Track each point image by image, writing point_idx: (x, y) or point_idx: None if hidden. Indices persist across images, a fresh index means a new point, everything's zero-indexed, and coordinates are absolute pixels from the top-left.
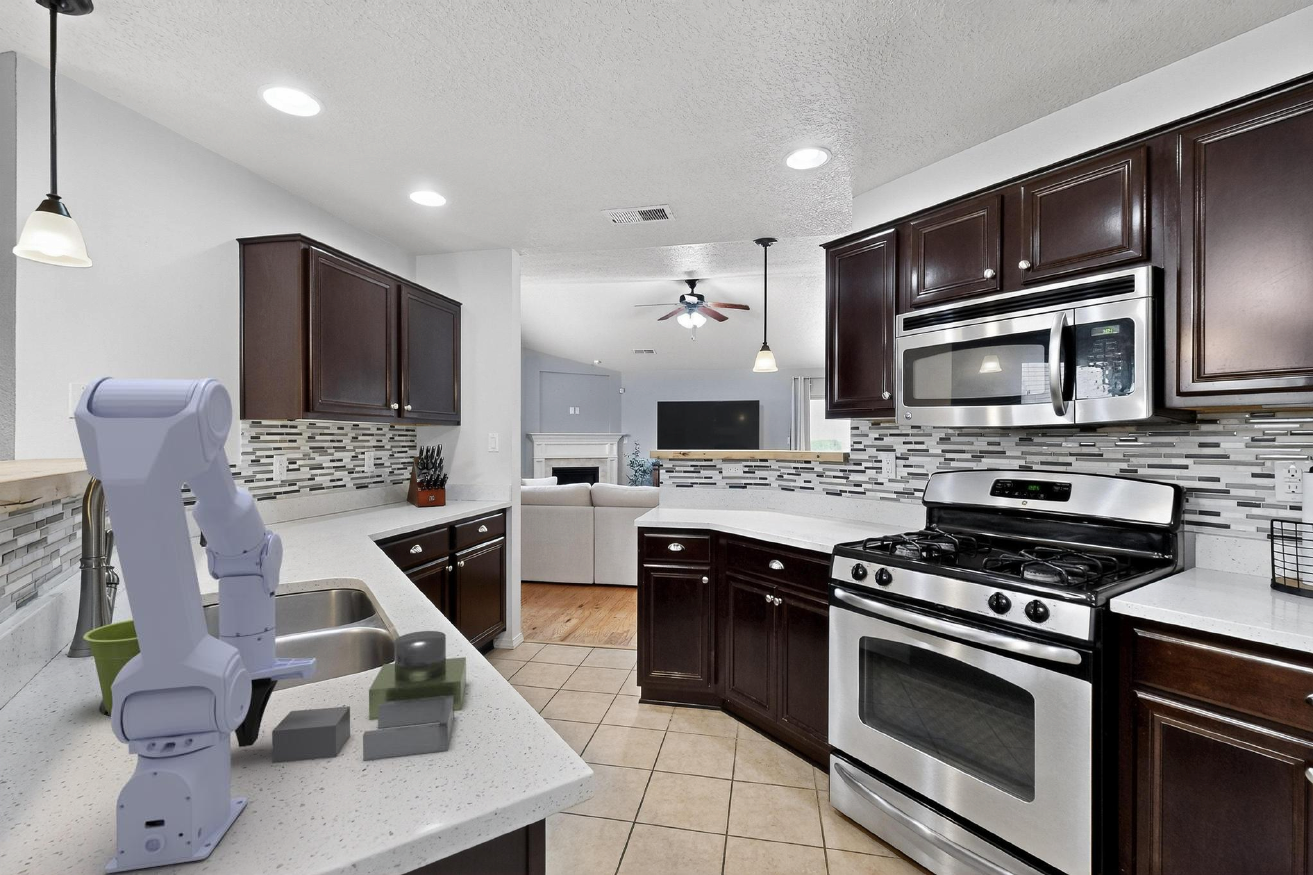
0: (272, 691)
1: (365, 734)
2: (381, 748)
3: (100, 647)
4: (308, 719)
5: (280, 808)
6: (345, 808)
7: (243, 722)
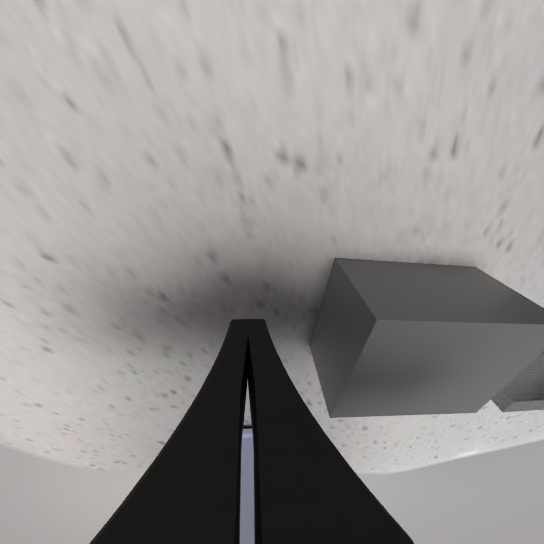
0: (351, 468)
1: (507, 410)
2: None
3: None
4: (424, 382)
5: (340, 431)
6: (407, 435)
7: (242, 422)
